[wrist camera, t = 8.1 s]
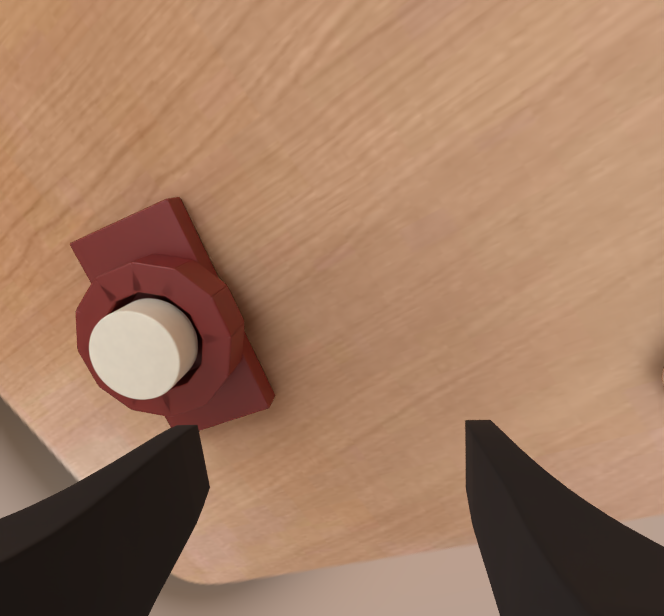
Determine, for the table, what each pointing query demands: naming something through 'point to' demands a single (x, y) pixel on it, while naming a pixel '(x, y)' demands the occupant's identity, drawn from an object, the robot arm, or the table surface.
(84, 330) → the block
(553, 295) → the table surface
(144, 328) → the button
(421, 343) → the table surface
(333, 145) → the table surface
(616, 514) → the table surface
